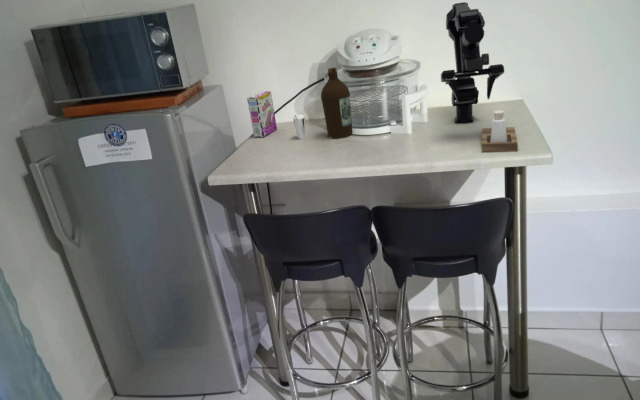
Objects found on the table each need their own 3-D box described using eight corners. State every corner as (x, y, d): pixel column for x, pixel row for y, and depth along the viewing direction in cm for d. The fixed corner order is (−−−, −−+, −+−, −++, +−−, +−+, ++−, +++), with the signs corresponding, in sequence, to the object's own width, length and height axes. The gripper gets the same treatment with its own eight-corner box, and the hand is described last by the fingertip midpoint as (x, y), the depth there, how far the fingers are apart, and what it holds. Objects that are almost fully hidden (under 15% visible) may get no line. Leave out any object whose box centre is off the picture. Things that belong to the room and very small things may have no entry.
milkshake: (293, 140, 187) (289, 115, 183) (299, 136, 192) (294, 111, 188) (304, 140, 186) (300, 114, 182) (309, 135, 190) (305, 110, 186)
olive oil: (321, 138, 185) (311, 71, 175) (336, 129, 193) (328, 65, 183) (344, 140, 179) (336, 71, 169) (359, 131, 187) (352, 64, 176)
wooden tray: (481, 135, 162) (481, 128, 161) (514, 134, 159) (514, 126, 158) (481, 152, 148) (481, 144, 147) (517, 151, 145) (517, 143, 144)
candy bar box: (264, 137, 197) (256, 97, 190) (254, 137, 199) (246, 98, 192) (278, 129, 206) (271, 90, 199) (268, 129, 208) (260, 91, 201)
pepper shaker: (486, 147, 151) (486, 113, 147) (494, 142, 155) (494, 108, 150) (503, 149, 148) (503, 114, 143) (511, 144, 151) (511, 109, 147)
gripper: (441, 49, 148) (445, 101, 149) (506, 41, 145) (509, 94, 146) (439, 56, 159) (442, 105, 160) (499, 49, 156) (502, 98, 157)
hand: (473, 100), depth 155 cm, fingers open, 9 cm apart
